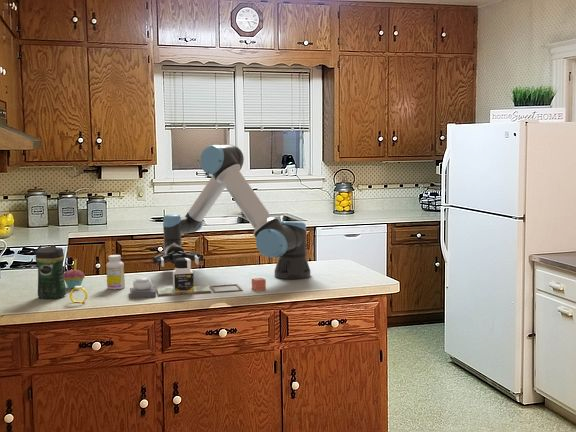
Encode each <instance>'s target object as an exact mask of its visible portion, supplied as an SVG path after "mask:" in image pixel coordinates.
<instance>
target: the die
mask: <svg viewBox="0 0 576 432" xmlns="http://www.w3.org/2000/svg"><path fill="white" fill-rule="evenodd" d="M266 281H267V279H265V278H263V277H253V278H251V289H252V290H254V291H255V292H256V291H264V290H265V291H266V290H267V289H266V288H267V285H266Z"/></svg>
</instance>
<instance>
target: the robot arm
mask: <svg viewBox="0 0 576 432" xmlns="http://www.w3.org/2000/svg"><path fill="white" fill-rule="evenodd" d="M199 157H200V159H199V164H200V167H201V170H202V171H203V172H205V173H206V174H208V175H212V176H211V178H210V179H209V180H208V182H207V183H206V185H205V186H204V188H203V189H202V191H201V192H200V194H199V195H198V197H197V198H196V199H195V201H194V202H193V203H192V205H191V207H190V209H189V210H188V211H187V213H186V214H185V215H184V216H181V215H180V214H178V213H177V214H176V213H175V214H174V213H171V214H165V215H164V216H163V219H162V220H163V221H162V226H163V253H159V254H158V255H155V256H153V257H152V263H153V264H154V265H155V264H157V266H158V267H159V266H161V267H162V268H163V267H165V263H167V262H168V263H171V264H173V265H175V260H176V259H177V258H189V259H190V260H191V262H194V263H195V264H196V266H199V265H200V262H203V261H204V254H202V253H199V252H197V253H196V252H193V251H190V252H189V253H188V252H185V251H184V249H183V248H182V235H186V234H190V233H196V232H198V231H200V230H201V229H202V227H203V220H204V219H205V218H206V216H207V214H208V213H209V211H210V210H211V209H212V207H213V206H214V205H215V203H216V202H217V200H218V199H219V197H220V196H221V195H222V193H223V192H224V190H225V189H226V190H227V191H228V193H229V194H230V196H231V197H232V199H233V200H234V202H235V203H236V205H237V207H238V208H239V210H241V212H242V214H244V216H245V218H246V219H247V221H248V222H249V223H250V225H251V226H252V227H253V229H254V230H253V236H254V237H255V245H256V249H257V251H259V252H258V253H260V254H261V255H263V256H264V257H266V258H269V259H270V258H272V259H273V258H278V259H277V262H276V265H275V268H274V277H275V278H278V279H283V280H301V279H307V278H310V277H311V269H310V265H309V262H308V259H307V224H306V223H305V222H302V221H301V222H300V221H286V220H285V221H284V220H282V221H280V219H279V218H277V217H273V216H272V215H271V214H270V213H269V211H268V209H267V208H266V207H265V205H264V204H263V203H262V201H261V200H260V198H259V197H258V195H257V194H256V192H255V191H254V189H253V188H252V187H251V185H250V183H248V181H247V179H246V178H245V176H244V175H243V174H242V173H241V170H242V168H243V166H244V160H245V159H244V158H245V157H244V154H243V152H242V150H241V149H240V148H239V147H238V146H236V145H234V144H212V145H208V146H206V147H205V148H204V149H202V151H201V154H200V156H199Z"/></svg>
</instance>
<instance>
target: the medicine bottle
mask: <svg viewBox="0 0 576 432" xmlns="http://www.w3.org/2000/svg"><path fill="white" fill-rule="evenodd" d="M191 264H192V261H191V260H190V259H189V258H177V259H176V260H175V264H174V269H173V270H172V288H174V291H175V292H184V291H194V286H195V282H194V281H195V280H194V278H195V277H194V275H195V274H194V272H193V270H192V265H191Z"/></svg>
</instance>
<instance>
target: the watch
mask: <svg viewBox="0 0 576 432" xmlns="http://www.w3.org/2000/svg"><path fill="white" fill-rule="evenodd" d="M75 290H81V291H83V293H84V296H85V298H84V300H82V301H81V300H79V301H76V300H75V299H74V298H73V292H74V291H75ZM88 296H89V295H88V291H87V290H86V288H84V287H83V286H82V285H81V286H75V287H74V289H71V291H69V299H70V300H71V302H72V303H74V302H80V303H79V304H83V303H85V301H87V299H88Z"/></svg>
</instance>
